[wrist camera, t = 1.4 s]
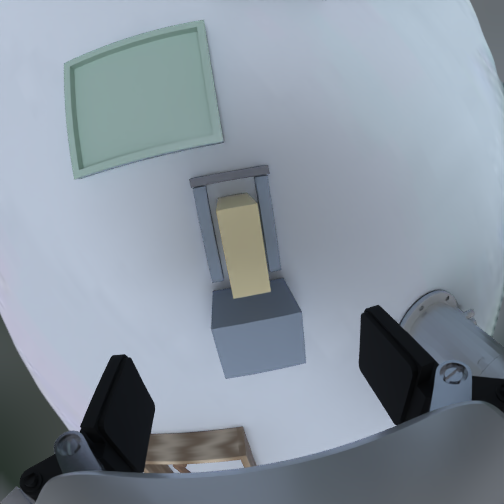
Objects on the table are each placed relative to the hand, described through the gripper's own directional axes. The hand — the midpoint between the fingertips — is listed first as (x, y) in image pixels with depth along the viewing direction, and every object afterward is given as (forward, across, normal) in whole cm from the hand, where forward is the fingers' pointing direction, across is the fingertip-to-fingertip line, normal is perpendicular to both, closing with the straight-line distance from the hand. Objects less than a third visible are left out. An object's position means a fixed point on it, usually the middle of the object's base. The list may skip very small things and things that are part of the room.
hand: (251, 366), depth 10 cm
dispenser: (+21, -1, +2) cm, 21 cm away
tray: (+21, +7, -17) cm, 28 cm away
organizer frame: (+21, +13, +47) cm, 53 cm away
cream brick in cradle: (+21, -1, -1) cm, 21 cm away
